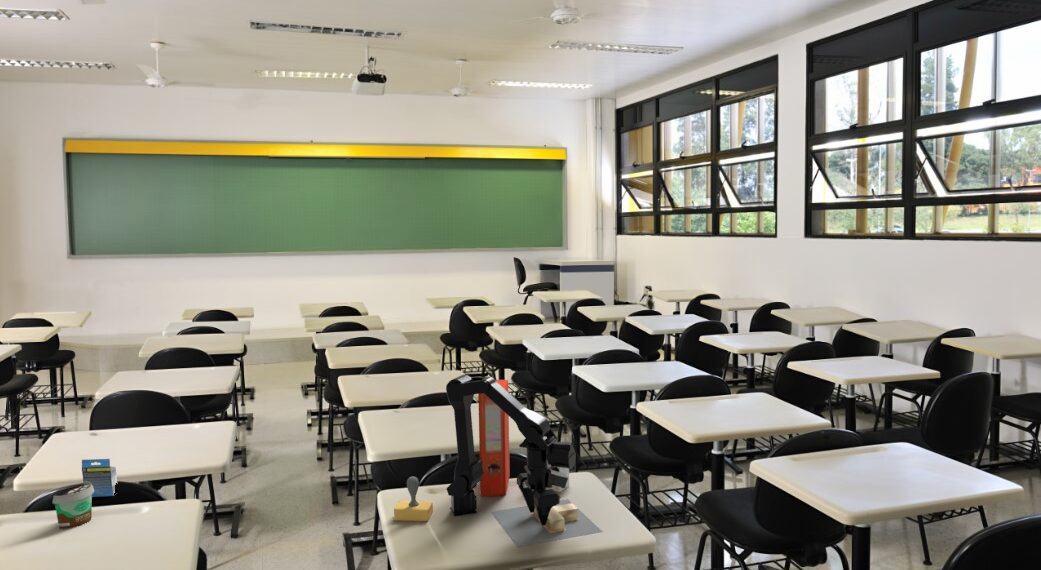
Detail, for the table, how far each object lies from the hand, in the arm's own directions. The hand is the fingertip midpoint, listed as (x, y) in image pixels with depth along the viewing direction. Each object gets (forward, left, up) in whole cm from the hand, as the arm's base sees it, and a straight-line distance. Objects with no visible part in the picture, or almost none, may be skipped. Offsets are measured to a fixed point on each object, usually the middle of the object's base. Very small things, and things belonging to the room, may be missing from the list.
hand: (537, 518), depth 208 cm
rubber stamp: (-31, +18, -2) cm, 36 cm away
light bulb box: (+13, +24, -2) cm, 27 cm away
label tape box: (-120, +73, -2) cm, 140 cm away
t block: (+6, 0, -1) cm, 6 cm away
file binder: (-2, +32, -2) cm, 32 cm away
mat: (+2, 0, -2) cm, 3 cm away
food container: (-121, +51, -2) cm, 131 cm away
